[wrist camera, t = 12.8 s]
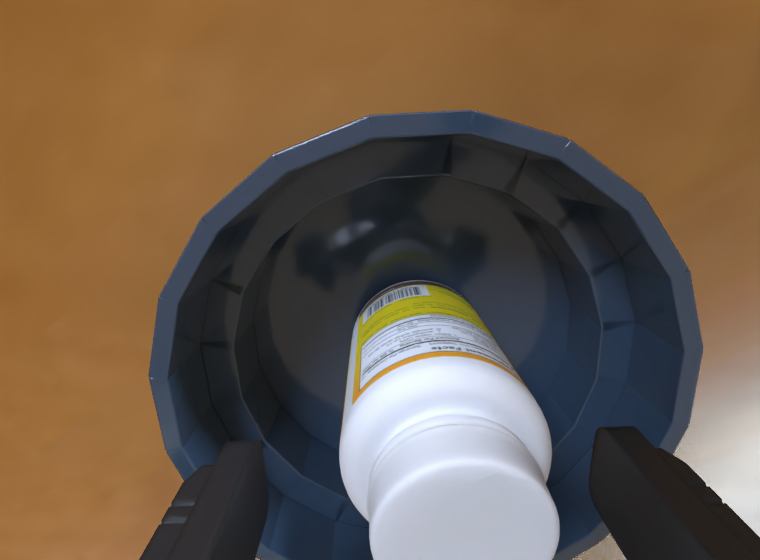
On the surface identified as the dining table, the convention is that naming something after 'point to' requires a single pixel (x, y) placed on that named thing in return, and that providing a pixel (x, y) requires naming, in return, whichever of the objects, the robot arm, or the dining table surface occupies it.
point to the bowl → (431, 263)
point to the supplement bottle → (443, 435)
